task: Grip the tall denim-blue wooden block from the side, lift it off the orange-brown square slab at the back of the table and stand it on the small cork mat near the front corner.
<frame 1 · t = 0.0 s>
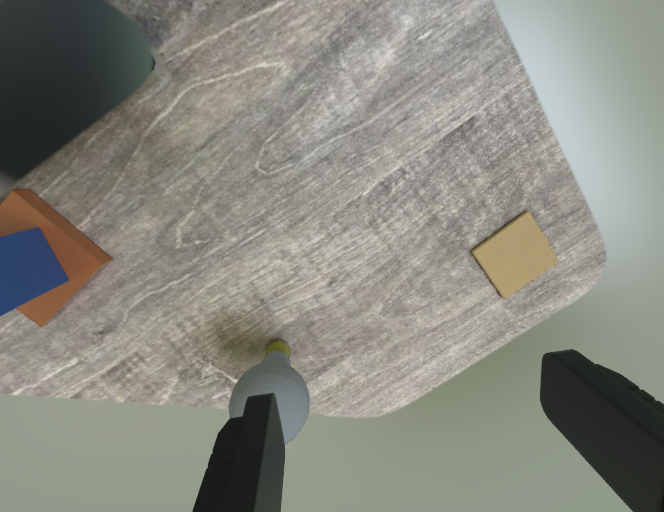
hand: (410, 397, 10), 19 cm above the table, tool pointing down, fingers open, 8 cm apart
orange-brown square slab: (42, 257, 27), on the table
mat: (514, 255, 30), on the table
block: (27, 262, 26), point 1 cm above the table, touching orange-brown square slab
light bulb: (279, 346, 31), on the table
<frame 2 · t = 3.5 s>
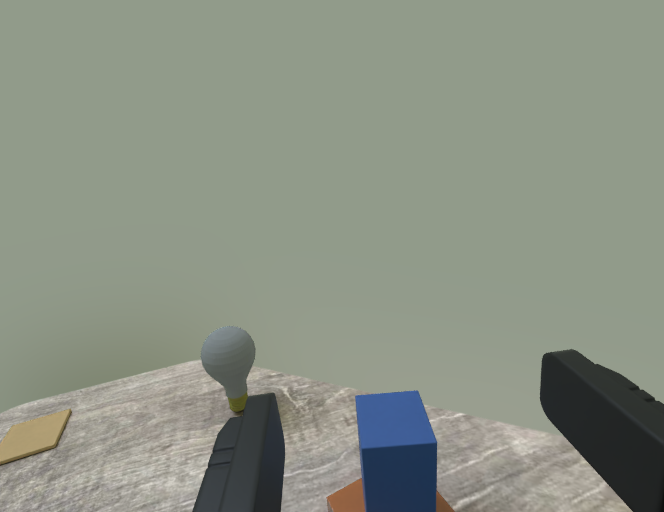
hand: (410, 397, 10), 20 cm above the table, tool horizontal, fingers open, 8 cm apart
mat: (33, 437, 37), on the table
light bulb: (240, 409, 39), on the table
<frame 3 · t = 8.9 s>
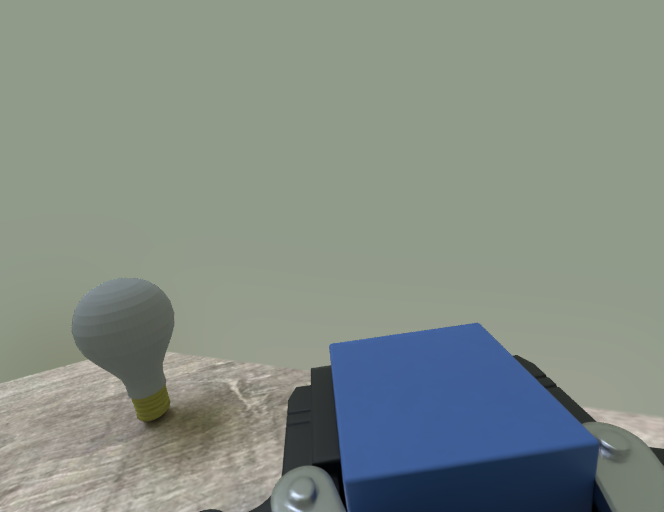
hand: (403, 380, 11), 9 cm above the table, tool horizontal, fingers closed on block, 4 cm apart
light bulb: (157, 418, 24), on the table
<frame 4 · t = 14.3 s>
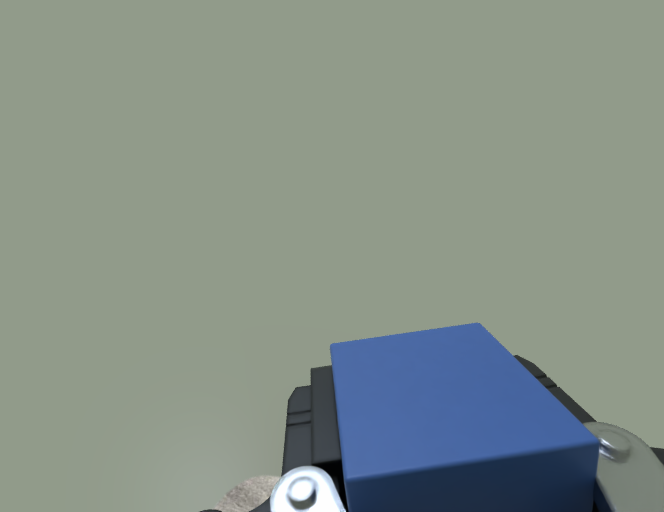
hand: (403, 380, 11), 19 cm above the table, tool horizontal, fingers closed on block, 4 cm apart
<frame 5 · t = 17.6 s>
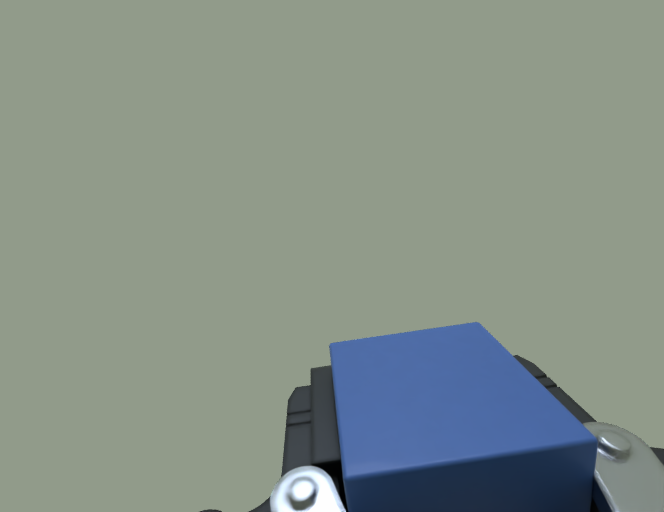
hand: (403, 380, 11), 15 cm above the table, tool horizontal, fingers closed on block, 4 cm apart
when the fingers open (7 cm above the table, at t = 20.0 s): block stays where it is, resting on mat.
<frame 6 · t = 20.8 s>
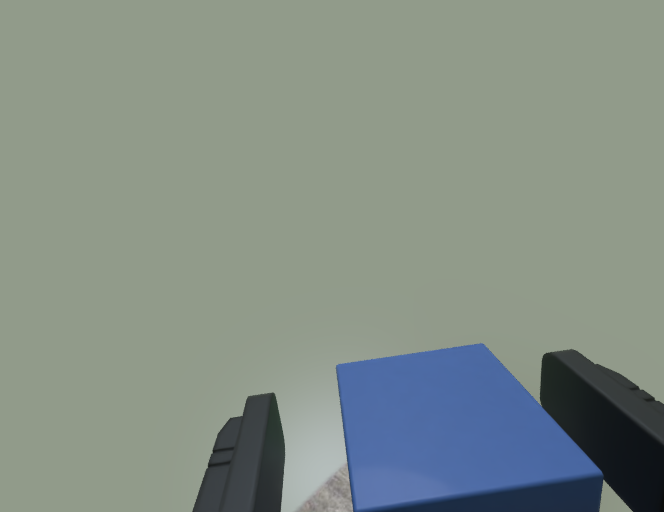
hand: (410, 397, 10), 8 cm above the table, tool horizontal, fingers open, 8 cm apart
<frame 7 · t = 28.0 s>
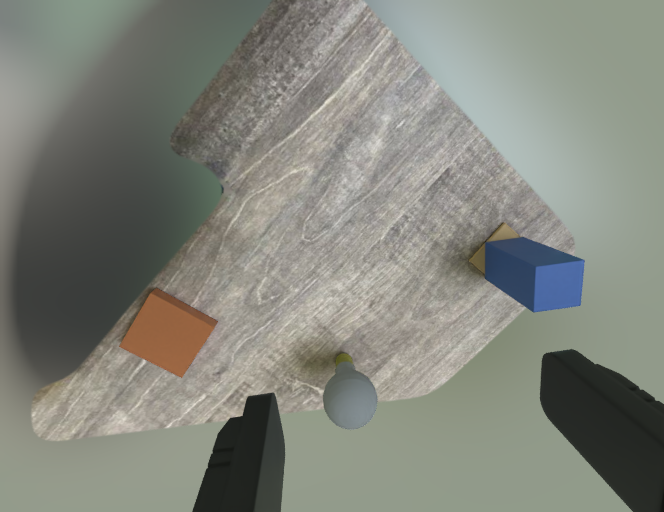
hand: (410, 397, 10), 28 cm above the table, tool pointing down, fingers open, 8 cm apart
orange-brown square slab: (171, 330, 39), on the table
mat: (502, 256, 39), on the table
block: (503, 258, 39), resting on mat
light bulb: (343, 357, 42), on the table
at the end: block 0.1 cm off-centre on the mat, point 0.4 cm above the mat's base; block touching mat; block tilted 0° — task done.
